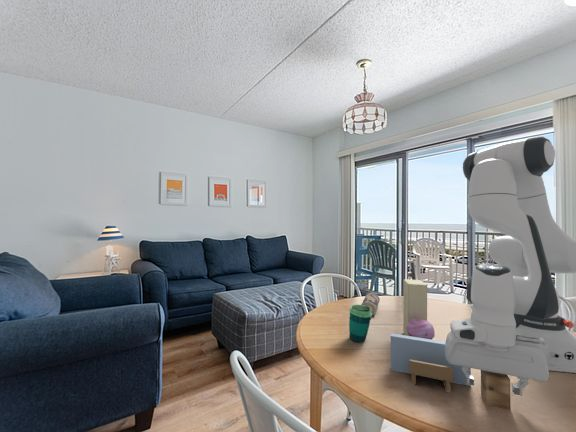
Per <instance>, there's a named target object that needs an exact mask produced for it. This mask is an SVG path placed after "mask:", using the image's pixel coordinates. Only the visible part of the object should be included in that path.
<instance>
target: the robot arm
mask: <svg viewBox="0 0 576 432" xmlns="http://www.w3.org/2000/svg"><path fill="white" fill-rule="evenodd" d="M465 157H466V158H465V159H464V160H463V162H462V172H463V175H464V177H465V179H466V180H468V181H469V186H468V192H467V193H468V197H467V198H468V199H467V201H468V212H469V216H470V217H471V219H472V220H473V221H474V222H475V223H476V224H478V225H479V226H481V227H484V228H485V229H488V230H491V231H494V232H497V233H500V234H503V235H502V236H496V237H494V238H493V239H492V240H491V241H490V242H489V245H488V254H489V257H490V259H491V260H493V262H495V263H496V264H494V263H483V264H478V265H477V264H476V265H475V266H474V268H473V271H472V275H471V276H470V277H468V278H467V279H466V281H465V282H466V284H465V285H466V300H467V301H468V302H469V303H470V304H472V305H473V309H472V308H471V312H470V318H466V319H464V318H463V319H460V320H452V321H451V322H450V324H449V326H450V327H449V328H450V331H449V332H448V333H447V335H446V339H445V342H446V344H445V357H446V360H447V361H448V362H449V363H450V364H452V365H457V366H461V368H462V371H463V372H464V374H465V376H466V383H467V384H468V385H471V386H472V387H474V386H475V378H474V376H473V375H472V374H471V375H469V374H468V373H467V371H469V368H471V369H474V370H480V371H481V370H484V371H489V372H494V373H500V374H505V375H508V376H509V377H510V376H512V377H516V378H518V381H517V382H516V383H511V391H512V393H513V395H516V396H520V397H522V396H523V390H524V389H525V388H526V387H527V385H528V384H529V380H530V381H531V380H532V381H537V382H543V383H544V382H547V381H548V380H549V379H550V378H549V377H550V373H549V371H553V372H562V373H563V372H564V373H574V374H576V335H575V334H574V333H572V332H571V331H570V330H568V328H569V329H572V328H574V327H575V323H574V322H573V321H571V320H569V319H566V318H564V317H562V316H560V315H558V314H559V312H560V307H561V306H560V304H561V302H560V301H561V300H560V296H559V293H558V291H557V289H556V287H555V285H554V282H553V279H552V275H551V273H553V274H576V238H573V237H572V236H570V235H569V234H567V233H566V231H564V230H563V229H562V228H561V227H560V226H559V225H558V224H557V222H556V221H555V219H554V217H553V216H552V212H551V209H550V206H549V201H548V196H547V189H546V186H545V182H544V179H543V175H544V174H545V173H546V172H548V171H549V170H550V169H551V168H552V166H554V162H555V158H556V150H555V147H554V146H553V144H552V142H551V141H550V139H548V138H547V137H545V136H532V137H527V138H525V139H519V140H514V141H508V142H504V143H500V144H498V145H494V146H490V147H488V148H484V149H482V150H477V151H475V152H472V153H469V154H468V155H467V156H465ZM566 327H567V328H566Z"/></svg>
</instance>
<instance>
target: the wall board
mask: <svg viewBox="0 0 576 432" xmlns="http://www.w3.org/2000/svg"><path fill="white" fill-rule="evenodd" d="M445 344H446V341H443V340H437V339H432V340H431V339H425V338H418V337H412V336H405V334H396V333H390V370H391V371H394V372H400V373H404V374H409V375H410V377H411V384H412V385H414V386H415V385H416V384H417V376H419V377H422V378H428V379H433V380H438V381H442V382H443V385H444V389H445V392H448V393H451V383H453V384H458V385H462V386H463V385H464V386H469V387H471V386H472V385H468V384H467V383H466V376H465V374H464V372H463V371H462V368H461V366H457V365H452V364H450V363H449V362H448V361H447V360H446V357H445ZM471 370H472V368H469V371H467V373H468V374H469V375H472V374H471V372H472V371H471Z"/></svg>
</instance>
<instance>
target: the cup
mask: <svg viewBox="0 0 576 432" xmlns="http://www.w3.org/2000/svg"><path fill="white" fill-rule="evenodd" d="M348 311H349V321H348V325H349V327H348V329H349V330H348V331H349V334H348V335H349V339H350V341H352V342H354V343H361V344H362V343H364V342H366V339H367V336H368V332H369V328H370V324H371V318H372V316H373V315H372V313H371V312H370V308H369V307H368V306H365V305H362V304H354V305H351V307H350V308H349V310H348Z"/></svg>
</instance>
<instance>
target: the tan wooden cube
mask: <svg viewBox="0 0 576 432" xmlns="http://www.w3.org/2000/svg"><path fill="white" fill-rule="evenodd" d="M480 397H481V398H482V400H483V403H484V404H485V405H489V406H493V407H497V408H498V407H499V408H503V409H507V410H511V407H512V406H511V405H512V404H511V403H512V402H511V378H510V376H509V375H505V374H500V373H494V372H489V371H484V370H480Z"/></svg>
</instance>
